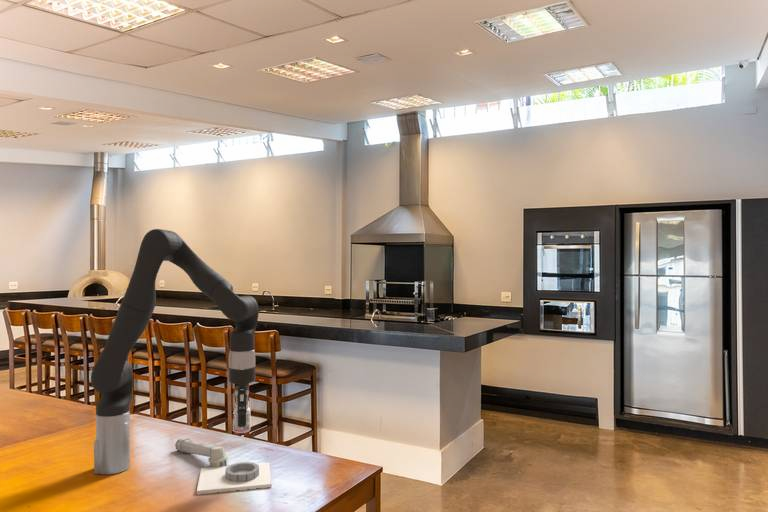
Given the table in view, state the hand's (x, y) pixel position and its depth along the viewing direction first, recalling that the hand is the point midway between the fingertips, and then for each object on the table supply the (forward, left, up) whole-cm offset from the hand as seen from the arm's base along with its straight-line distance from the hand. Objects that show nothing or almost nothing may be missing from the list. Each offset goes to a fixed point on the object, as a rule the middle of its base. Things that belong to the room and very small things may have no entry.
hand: (242, 423), depth 164 cm
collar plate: (-2, 0, -16) cm, 16 cm away
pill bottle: (0, 0, -2) cm, 2 cm away
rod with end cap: (-13, +19, -17) cm, 28 cm away
